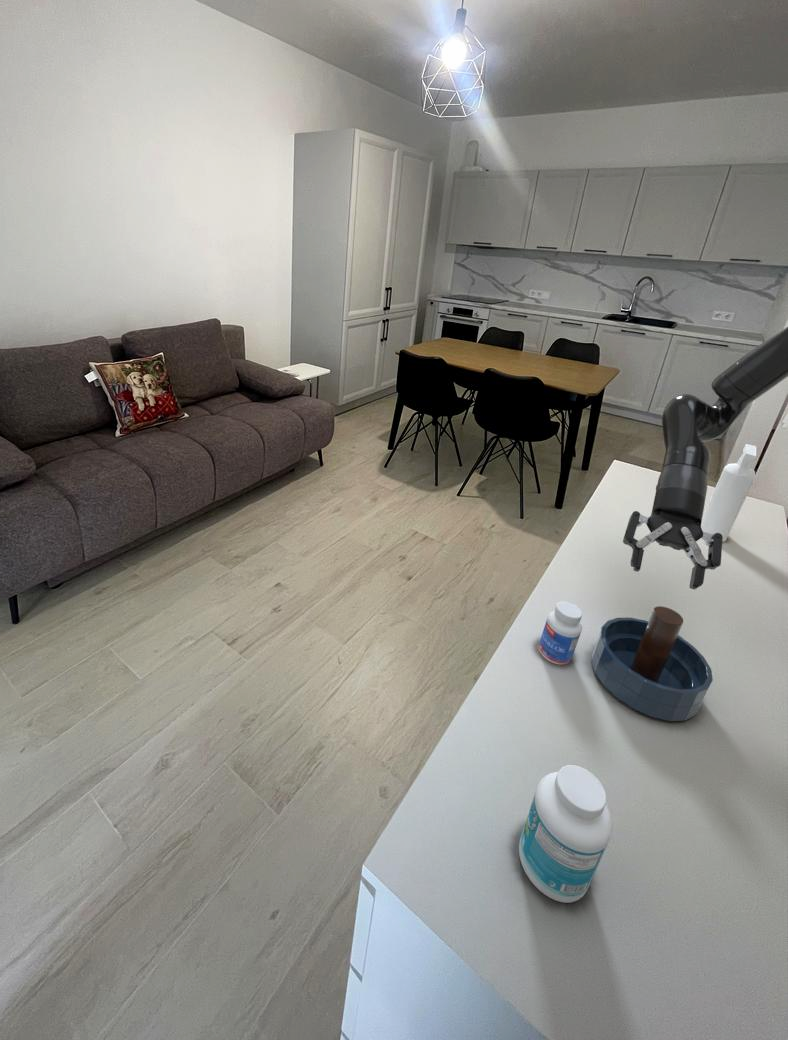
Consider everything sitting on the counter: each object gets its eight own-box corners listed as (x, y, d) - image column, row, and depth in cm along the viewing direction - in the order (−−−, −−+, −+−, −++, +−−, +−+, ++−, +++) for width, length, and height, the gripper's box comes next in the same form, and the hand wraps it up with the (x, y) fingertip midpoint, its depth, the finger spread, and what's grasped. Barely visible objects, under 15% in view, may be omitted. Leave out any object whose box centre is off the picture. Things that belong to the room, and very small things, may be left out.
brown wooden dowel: (660, 679, 81) (687, 616, 76) (651, 692, 78) (678, 628, 73) (634, 664, 84) (658, 602, 79) (625, 676, 81) (649, 613, 76)
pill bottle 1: (532, 650, 86) (545, 605, 82) (547, 637, 89) (560, 593, 85) (562, 671, 82) (577, 625, 78) (577, 656, 85) (592, 611, 82)
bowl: (709, 689, 81) (724, 659, 78) (679, 744, 71) (695, 712, 69) (612, 633, 91) (622, 605, 89) (574, 674, 81) (584, 644, 79)
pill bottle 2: (540, 815, 61) (567, 738, 56) (599, 874, 55) (635, 795, 50) (503, 856, 56) (529, 777, 51) (564, 924, 51) (600, 843, 46)
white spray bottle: (728, 530, 131) (766, 442, 121) (727, 549, 122) (767, 456, 112) (698, 520, 134) (733, 435, 125) (694, 538, 126) (731, 447, 116)
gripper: (640, 476, 90) (622, 560, 85) (735, 498, 84) (722, 590, 79) (631, 491, 97) (614, 569, 92) (719, 512, 91) (706, 598, 86)
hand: (664, 579), depth 85 cm, fingers open, 8 cm apart
